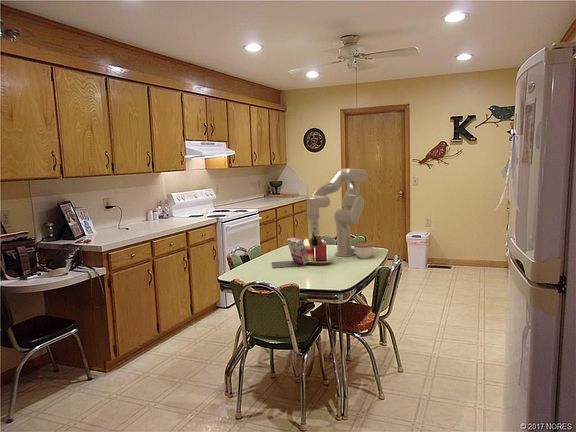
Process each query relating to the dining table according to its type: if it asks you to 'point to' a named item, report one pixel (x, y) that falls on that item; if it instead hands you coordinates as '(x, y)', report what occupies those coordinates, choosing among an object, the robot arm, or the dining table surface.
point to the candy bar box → (298, 250)
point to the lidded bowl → (363, 249)
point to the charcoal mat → (284, 264)
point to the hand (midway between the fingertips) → (314, 244)
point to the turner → (316, 245)
